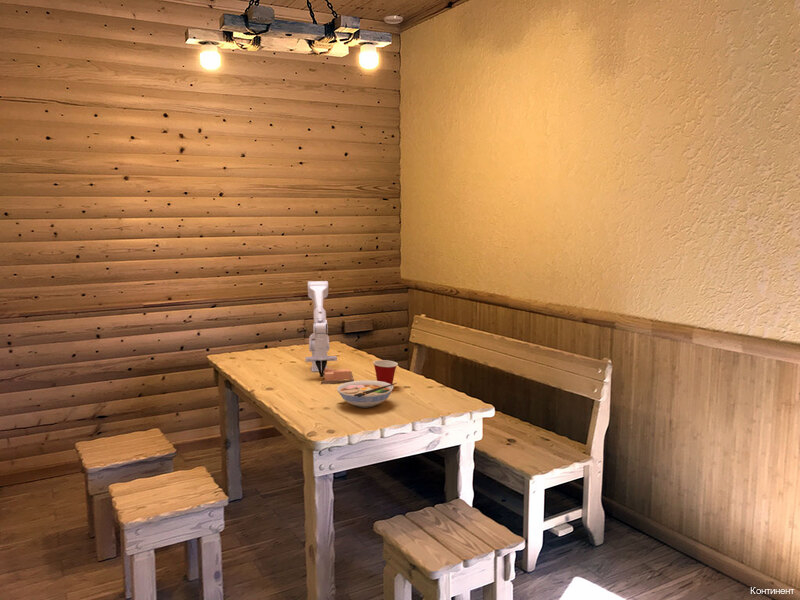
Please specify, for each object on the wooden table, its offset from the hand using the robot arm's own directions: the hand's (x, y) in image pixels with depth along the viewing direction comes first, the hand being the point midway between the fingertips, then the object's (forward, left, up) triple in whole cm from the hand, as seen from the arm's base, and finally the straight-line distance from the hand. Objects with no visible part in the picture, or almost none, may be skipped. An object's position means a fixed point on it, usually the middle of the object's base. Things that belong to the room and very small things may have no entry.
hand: (321, 376), depth 305 cm
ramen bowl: (+44, +17, -2) cm, 47 cm away
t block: (0, +7, -1) cm, 8 cm away
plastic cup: (+21, +28, -2) cm, 35 cm away
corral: (0, +7, -1) cm, 7 cm away
